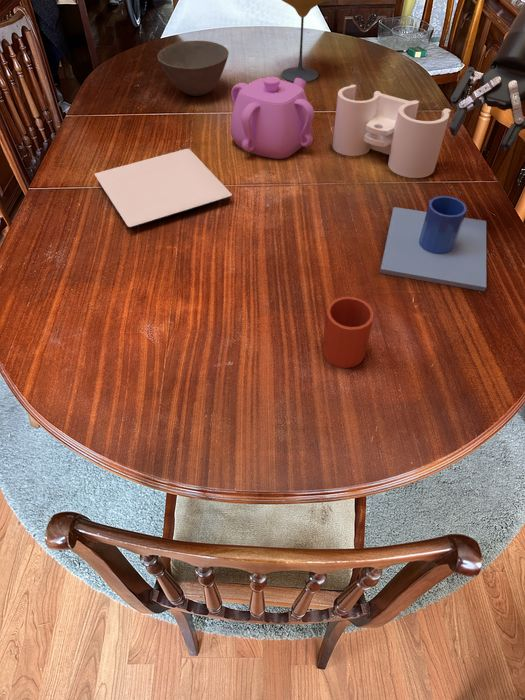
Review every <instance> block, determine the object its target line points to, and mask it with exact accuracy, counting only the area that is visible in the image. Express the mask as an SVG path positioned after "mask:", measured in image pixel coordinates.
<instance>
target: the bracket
mask: <svg viewBox="0 0 525 700" xmlns="http://www.w3.org/2000/svg"><path fill="white" fill-rule="evenodd" d="M356 92H357V84H350V85H347V86H344V87H342V88H340V89H339V90H338V91H337V100H336V109H335V116H334V117H335V119H334V127H333V135H332V136H333V137H332V150H334V151H335V152H336V153H338V154H340V155H343V156H348V157H359V156H363V155H365V154H367V153H369V152H370V150H372V151H376V152H379V153H382V154H385V155H389V156H388V161H387V166H388V169H389V170H390V171H392V172H393V173H394V174H396V175H398V176H401V177H404V178H408V179H409V178H410V179H421V178H426V177H428V176H431V175H432V174H434V172H435V169H436V166H437V163H438V159H439V156H440V151H441V148H442V144H443V141H444V137H445V133H446V130H447V126H448V122H449V118H450V116H451V111H452V110H451V109H450V108H443V110H442V111H441V116H440V118H439V119H437V120H436V119H435V120H419V119H416V118H417V114H418V110H419V105H420V100H417V99H412V100H407V99H404V98H401V97H396V96H393V95H390V94H385V93H381V91H380V90H375V91H374V92H373V95H372V98H370V99H366V100H356Z"/></svg>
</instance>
